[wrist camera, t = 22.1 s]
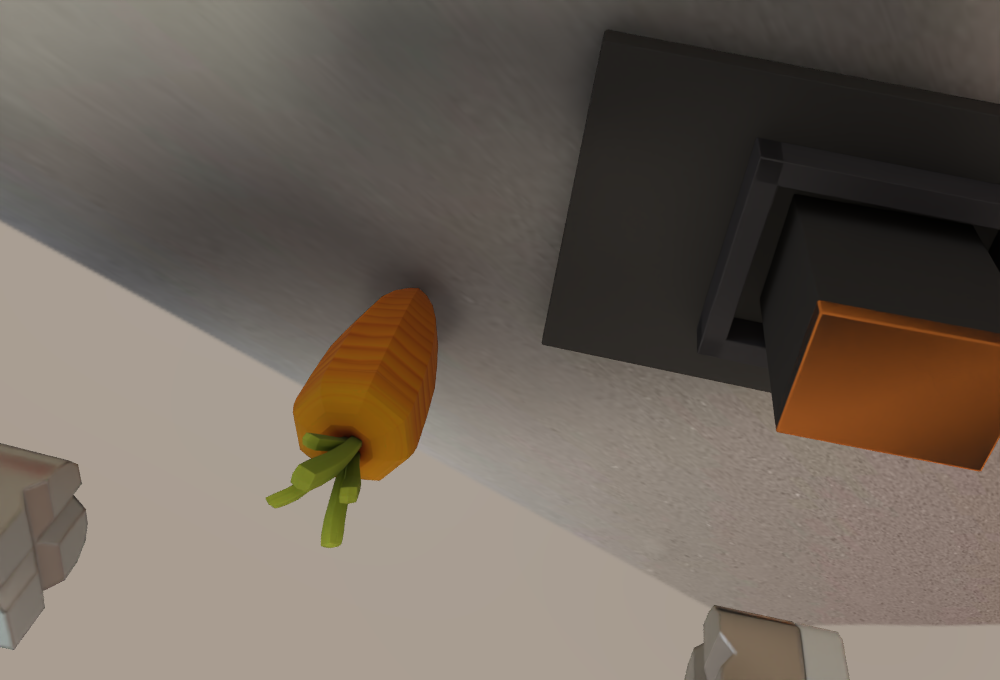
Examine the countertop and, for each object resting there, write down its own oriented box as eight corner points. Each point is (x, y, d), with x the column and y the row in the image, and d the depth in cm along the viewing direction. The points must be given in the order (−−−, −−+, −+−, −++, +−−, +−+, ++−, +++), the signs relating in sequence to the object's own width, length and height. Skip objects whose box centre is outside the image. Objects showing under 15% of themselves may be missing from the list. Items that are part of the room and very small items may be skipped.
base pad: (545, 327, 44) (535, 369, 41) (605, 29, 36) (598, 55, 34) (929, 407, 43) (947, 457, 40) (1077, 118, 35) (1112, 154, 32)
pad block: (758, 299, 40) (775, 432, 33) (793, 192, 37) (820, 311, 30) (926, 331, 40) (981, 472, 32) (973, 225, 37) (1046, 353, 29)
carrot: (449, 352, 46) (362, 585, 34) (354, 314, 46) (231, 535, 33) (484, 271, 43) (402, 493, 31) (382, 230, 43) (259, 437, 30)
